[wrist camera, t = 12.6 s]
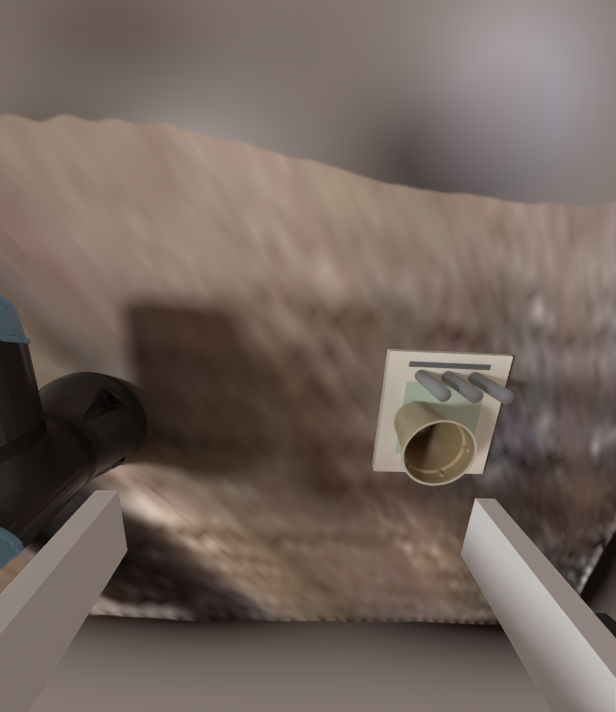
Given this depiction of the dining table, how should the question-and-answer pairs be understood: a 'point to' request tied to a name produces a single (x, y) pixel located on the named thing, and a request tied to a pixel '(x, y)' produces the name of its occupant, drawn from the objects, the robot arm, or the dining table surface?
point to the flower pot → (433, 445)
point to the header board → (397, 392)
